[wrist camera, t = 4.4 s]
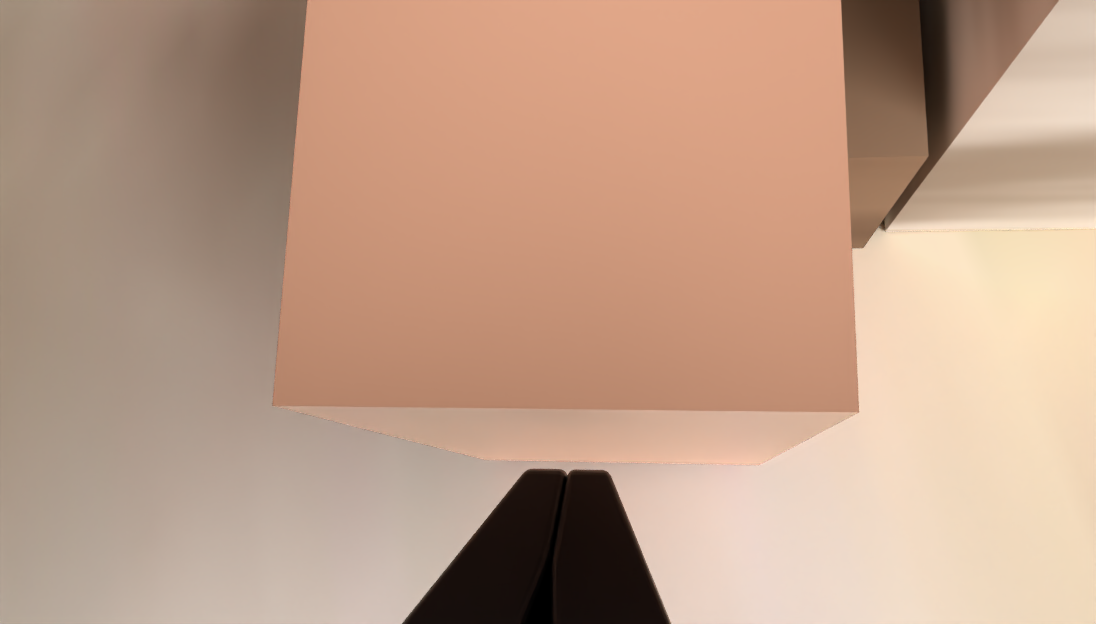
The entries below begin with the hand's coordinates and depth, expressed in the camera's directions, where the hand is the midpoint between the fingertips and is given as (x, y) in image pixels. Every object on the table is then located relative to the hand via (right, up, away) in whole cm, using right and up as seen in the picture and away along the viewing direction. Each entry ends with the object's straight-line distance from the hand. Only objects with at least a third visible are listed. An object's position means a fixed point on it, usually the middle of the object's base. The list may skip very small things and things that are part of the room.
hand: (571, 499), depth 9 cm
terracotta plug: (+1, +2, +8) cm, 8 cm away
